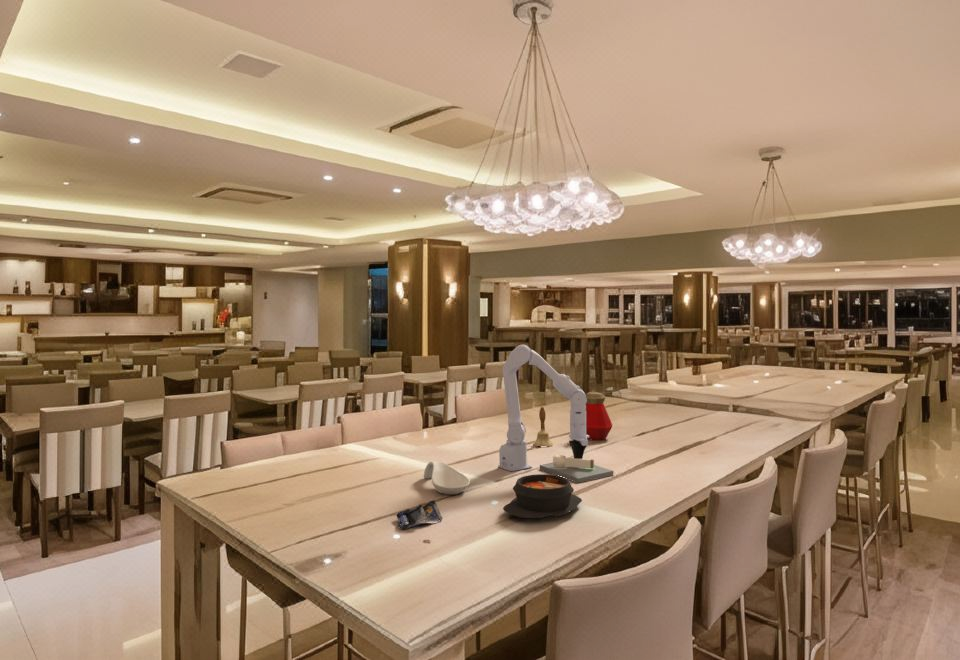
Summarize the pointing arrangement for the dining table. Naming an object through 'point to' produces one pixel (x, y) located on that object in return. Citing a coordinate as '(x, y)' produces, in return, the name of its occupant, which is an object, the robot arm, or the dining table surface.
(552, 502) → the casserole
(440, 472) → the spoon rest
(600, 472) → the dial board
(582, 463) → the brown-capped cream post
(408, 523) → the snack package
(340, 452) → the dining table surface
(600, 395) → the bottle
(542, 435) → the hand bell
